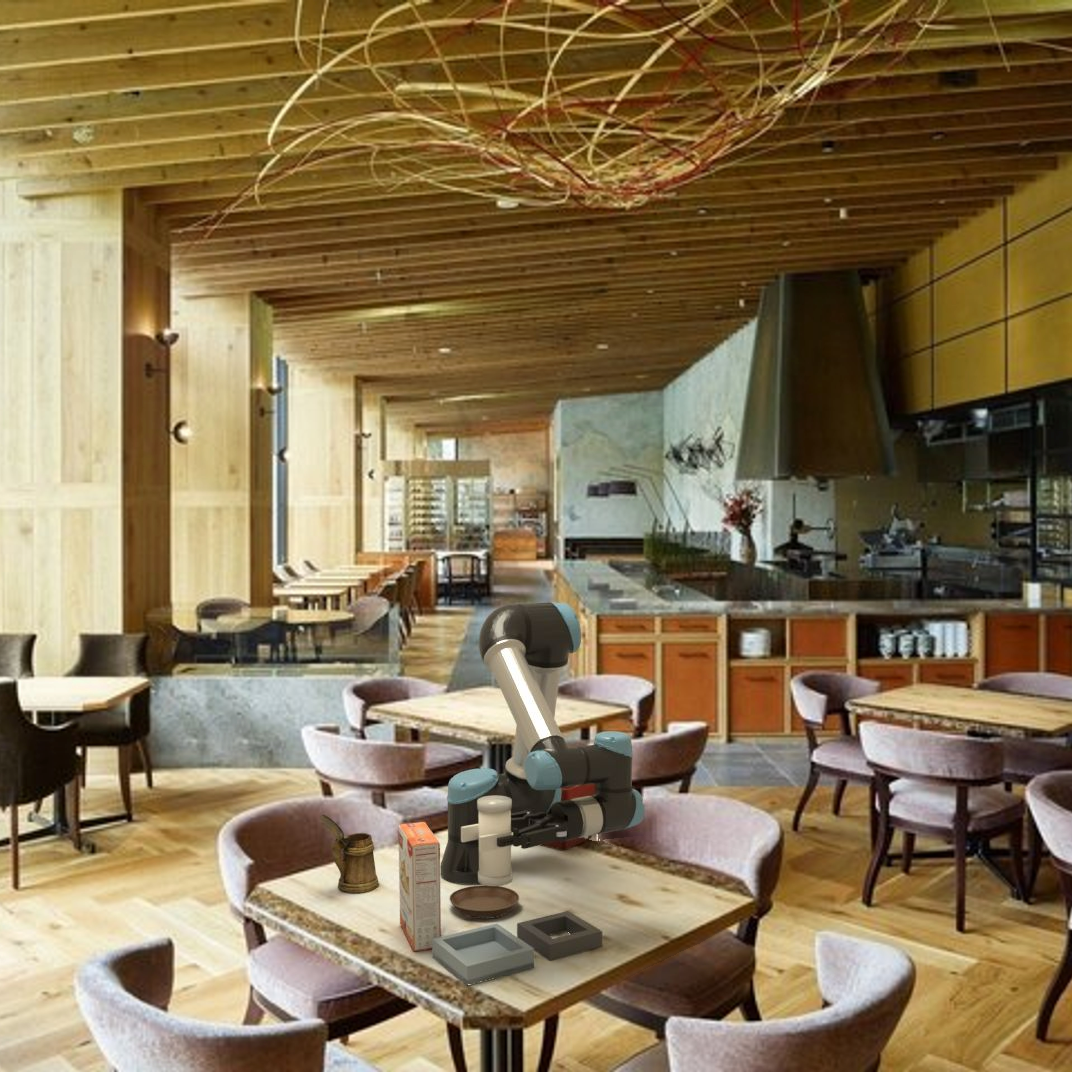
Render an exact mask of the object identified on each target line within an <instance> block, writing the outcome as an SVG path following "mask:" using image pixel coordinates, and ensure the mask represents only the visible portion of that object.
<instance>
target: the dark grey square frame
mask: <svg viewBox="0 0 1072 1072" xmlns="http://www.w3.org/2000/svg"><path fill="white" fill-rule="evenodd" d="M566 931H567V932H566ZM563 932H566V933H568V932H569V933H570V934H569V933H568V934H566V935H561V936H558V937H555V938H553V937H551V935H555V934H558V933H563ZM516 937H518V938H519V939H521V940H522V941H524V942H525V943H527V944H528V945H529V946H531V947H532V948H534V952H536V953H538V954H539V955H541V956H543V958H545V959H547V960H548V961H554V960H557V959H562V958H566V957H568V956H569V957H570V956H572V955H575V954H580V953H583V952H586V951H591V950H594V949H598V948H601V947H603V930H601V929H600V928H598V927H596V926H594V925H593V924H591V923H589V922H588V921H587V920H585V919H583V918H581V917H579V916H578V915H576V914H574V913H572V912H571V911H569V910H566V911H562V912H556V913H553V914H550V915H545V916H542V917H536V918H533V919H528V920H525V921H522V922H517V924H516Z"/></svg>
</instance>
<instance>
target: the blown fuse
mask: <svg viewBox="0 0 1072 1072" xmlns="http://www.w3.org/2000/svg"><path fill="white" fill-rule="evenodd" d="M477 809H478V810H479V836H484V835H489V834H494V833H499V832H504V831H509V830H510V831H511V809H512V799H511V798H509V797H506V796H497V795H494V796H485V797H481V798H479V799H478V800H477ZM478 844H479V837H478ZM512 881H513V870H512V846H510V847H505V848H500V849H495V850H490V851H486V852H479V871H478V882H479V883H480V884H479V885H486V886H501V887H503V886H505V885H509V884H511V883H512Z"/></svg>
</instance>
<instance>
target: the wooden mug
mask: <svg viewBox="0 0 1072 1072" xmlns="http://www.w3.org/2000/svg"><path fill="white" fill-rule="evenodd" d="M321 821H322V823H323V825H324V826H325V827H326V828H327V829H328V830H329V832H330V833H331V834H332V835H333V836H334V837H335V840H334V843H333V846H332V858H333V862H334V863H335V865H336V867H337V869H338V870H339V873H340V874H339V875H340V876H339V878H338V883H337V888H338V889H339V890H340V891H342V892H343V893H347V894H364V893H369V892H372V891H373V890H375V889H376V888H378V886H379V885H380V883H379V877H378V875H377V870H376V869H377V868H376V862H375V858H374V857H375V856H374V851H375V845H374V842H373V839H372V835H371V834H369V833H366V832H356V833H352V834H351V833H350V834H349V835H347V836H345V833H344V831H343V829H342V828H341V827H340V826H339V825H338V824H337V823H336V822H335V821H334V820H333V819H331V818H330V817H329V816H327V815H325V814H323V815H322V816H321ZM341 852H342V858H341Z"/></svg>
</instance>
